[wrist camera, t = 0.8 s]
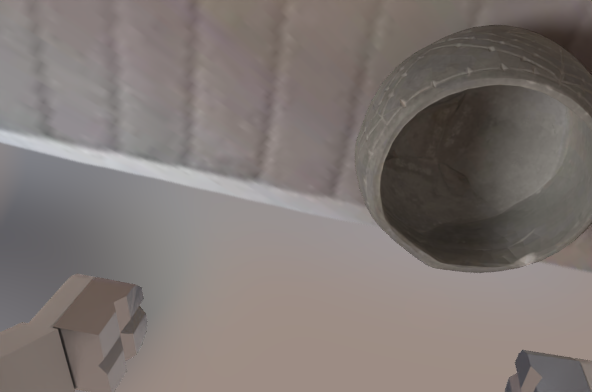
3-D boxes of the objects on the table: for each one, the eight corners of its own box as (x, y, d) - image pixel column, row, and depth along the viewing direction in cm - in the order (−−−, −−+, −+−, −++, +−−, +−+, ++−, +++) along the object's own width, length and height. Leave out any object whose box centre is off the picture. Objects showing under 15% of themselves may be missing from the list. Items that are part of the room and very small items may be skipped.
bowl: (515, -40, 44) (559, -15, 32) (615, 143, 50) (685, 225, 38) (324, 92, 54) (299, 152, 41) (428, 233, 60) (435, 322, 47)
